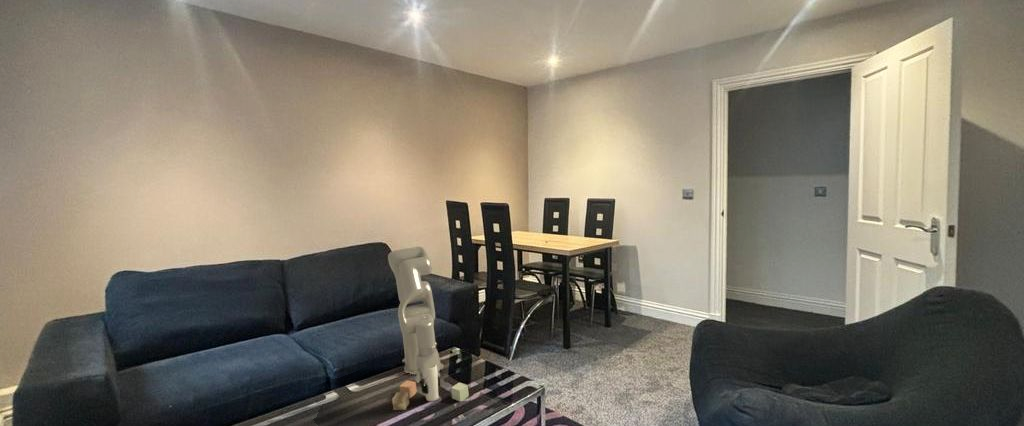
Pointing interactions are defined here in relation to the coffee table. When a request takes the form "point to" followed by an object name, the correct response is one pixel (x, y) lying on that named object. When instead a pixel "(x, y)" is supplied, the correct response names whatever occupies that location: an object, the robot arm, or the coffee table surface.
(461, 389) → the sage block
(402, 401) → the birch block
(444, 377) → the coffee table surface
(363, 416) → the coffee table surface
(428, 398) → the drinking glass
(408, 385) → the terracotta block
